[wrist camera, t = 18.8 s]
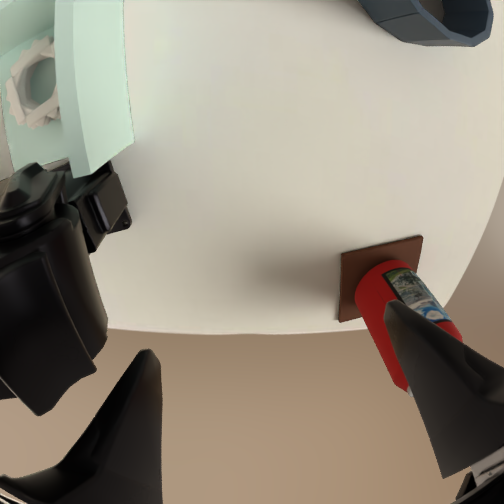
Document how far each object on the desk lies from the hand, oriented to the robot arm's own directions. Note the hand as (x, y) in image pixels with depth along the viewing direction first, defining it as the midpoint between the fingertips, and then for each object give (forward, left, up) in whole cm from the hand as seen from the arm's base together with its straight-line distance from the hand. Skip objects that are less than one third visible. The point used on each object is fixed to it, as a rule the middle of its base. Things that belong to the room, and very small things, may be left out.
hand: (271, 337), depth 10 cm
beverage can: (+12, -11, -13) cm, 21 cm away
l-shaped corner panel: (-12, +13, -13) cm, 22 cm away
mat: (+12, -11, -13) cm, 21 cm away
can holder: (+16, +16, -13) cm, 26 cm away
